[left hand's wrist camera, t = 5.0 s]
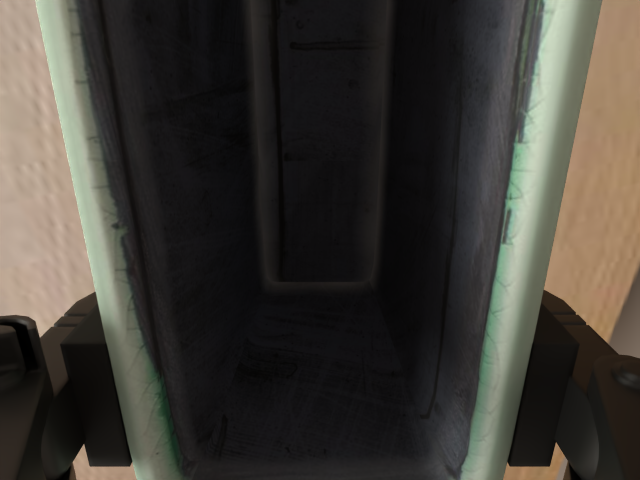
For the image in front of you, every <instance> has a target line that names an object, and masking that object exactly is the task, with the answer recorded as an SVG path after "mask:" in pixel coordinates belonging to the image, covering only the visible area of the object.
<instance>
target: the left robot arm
mask: <svg viewBox="0 0 640 480" xmlns="http://www.w3.org/2000/svg"><path fill="white" fill-rule="evenodd" d="M556 442H557V444H558V446H559V447H560V449H561V450H562V452H563V454H564V455H565V457H566V458H567V460H568V463H567V466H566V470H565V474H564V478H563V480H640V358H636V357H632V356H628V355H619V354H618V353H617V352H616V351H615V350H614V349H613V348H612V347H611V346H610V345H608V344H607V343H606V342H605V341H604V340H603V339H602V338H601V337H600V336H599V335H598V334H597V333H596V332H595V331H594V330H593V329H592V328H591V327H590V326H589V325H586V322H585V321H584V320H583V319H582V318H581V317H580V316H579V315H576V312H575V311H574V310H573V309H572V308H571V307H570V306H569V305H568V304H567V303H566V302H565V301H564V300H562V299H560V298H558V297H556V296H554V295H553V294H551V293H549V292H547V291H545V290H543V295H542V300H541V305H540V310H539V315H538V320H537V325H536V330H535V334H534V339H533V343H532V348H531V353H530V358H529V363H528V367H527V372H526V377H525V382H524V387H523V392H522V396H521V401H520V406H519V411H518V416H517V421H516V425H515V430H514V435H513V440H512V445H511V449H510V453H509V457H508V461H507V462H508V464H509V466H550V464H551V460H552V456H553V452H554V447H555V443H556ZM83 444H84V445H85V449H86V453H87V457H88V461H89V465H90V466H130V465H131V463H132V458H131V454H130V450H129V446H128V442H127V437H126V432H125V428H124V423H123V418H122V414H121V409H120V404H119V400H118V395H117V390H116V386H115V381H114V376H113V371H112V367H111V362H110V357H109V352H108V348H107V343H106V339H105V334H104V329H103V325H102V320H101V315H100V310H99V305H98V301H97V296H96V292H94V293H92V294H90V295H88V296H87V297H85V298H83V299H81V300H79V301H77V302H76V303H75V304H74V305H73V306H72V307H71V308H70V309H69V310H68V311H67V312H66V313H65V314H64V317H61V318H60V319H59V320H58V321H57V322H56V323H55V324H54V327H51V328H50V329H49V330H48V331H47V332H46V333H45V334H44V335H43V336H42V337H41V338H40V337H39V333H38V330H37V326H36V322H35V321H34V320H32V319H31V318H29V317H26V316H19V315H10V316H0V480H76V475H75V470H74V466H73V460H74V459H75V457H76V456H77V454H78V452H79V451H80V449H81V448H82V446H83Z"/></svg>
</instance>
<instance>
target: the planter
mask: <svg viewBox="0 0 640 480" xmlns="http://www.w3.org/2000/svg"><path fill="white" fill-rule="evenodd" d="M35 2H36V7H37V12H38V17H39V22H40V27H41V32H42V36H43V41H44V46H45V51H46V56H47V61H48V65H49V70H50V75H51V80H52V85H53V89H54V94H55V99H56V104H57V109H58V113H59V118H60V123H61V128H62V133H63V137H64V142H65V147H66V152H67V157H68V161H69V166H70V171H71V176H72V181H73V185H74V190H75V195H76V200H77V205H78V209H79V214H80V219H81V224H82V229H83V233H84V238H85V243H86V248H87V253H88V257H89V262H90V267H91V272H92V277H93V281H94V286H95V291H96V296H97V301H98V305H99V310H100V315H101V320H102V325H103V329H104V334H105V339H106V343H107V348H108V352H109V357H110V362H111V367H112V371H113V376H114V381H115V386H116V390H117V395H118V400H119V404H120V409H121V414H122V418H123V423H124V428H125V432H126V437H127V442H128V446H129V450H130V454H131V458H132V462H133V466H134V470H135V474H136V478H137V480H503V477H504V473H505V469H506V465H507V461H508V457H509V453H510V449H511V445H512V440H513V435H514V430H515V425H516V421H517V416H518V411H519V406H520V401H521V396H522V392H523V387H524V382H525V377H526V372H527V367H528V363H529V358H530V353H531V348H532V343H533V339H534V334H535V330H536V325H537V320H538V315H539V310H540V305H541V300H542V295H543V290H544V285H545V280H546V275H547V270H548V265H549V260H550V256H551V251H552V246H553V241H554V236H555V231H556V226H557V221H558V216H559V211H560V206H561V201H562V196H563V191H564V186H565V182H566V177H567V172H568V167H569V162H570V157H571V152H572V147H573V142H574V137H575V132H576V127H577V122H578V117H579V112H580V108H581V103H582V98H583V93H584V88H585V83H586V78H587V73H588V68H589V63H590V58H591V53H592V48H593V43H594V38H595V33H596V28H597V23H598V18H599V13H600V8H601V3H602V0H35Z"/></svg>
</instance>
